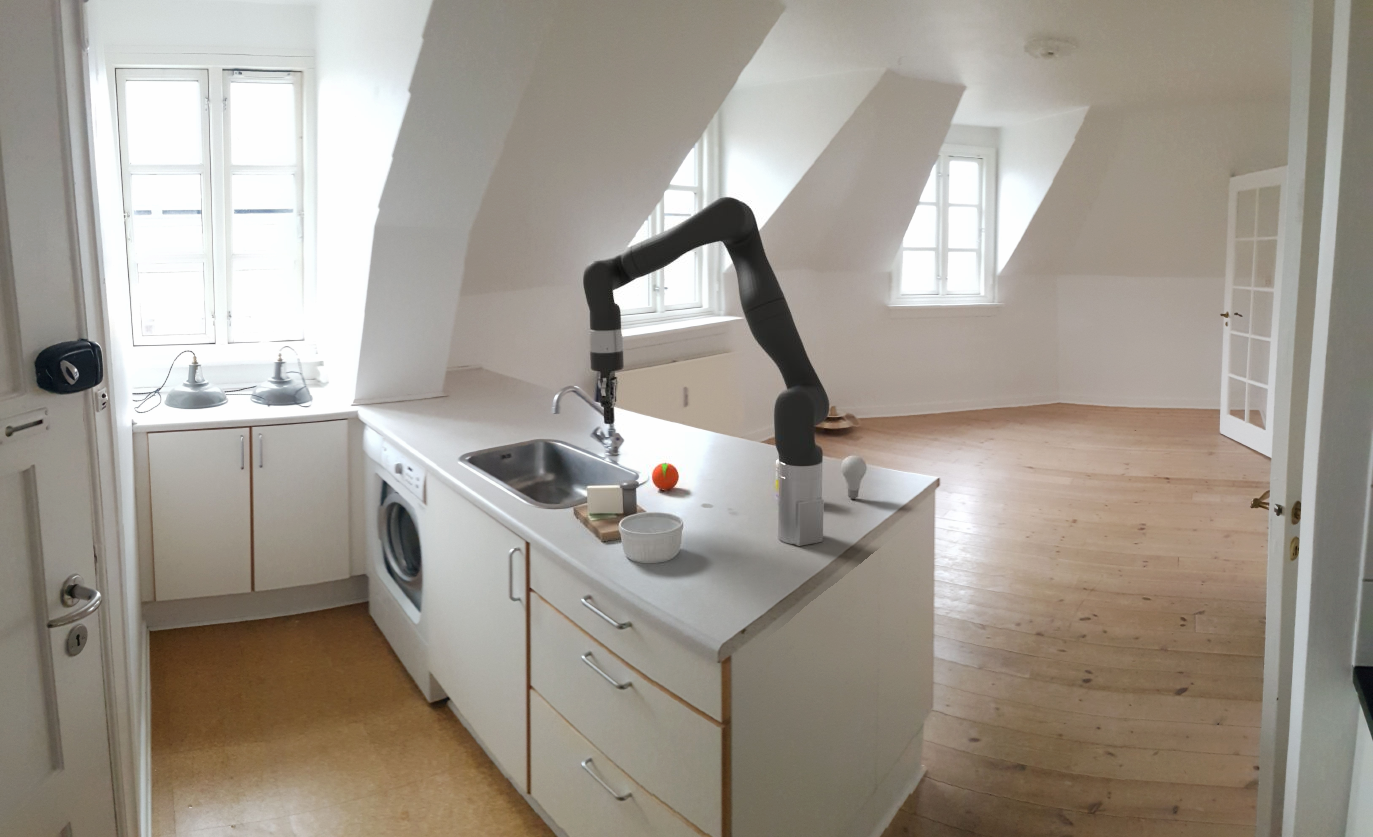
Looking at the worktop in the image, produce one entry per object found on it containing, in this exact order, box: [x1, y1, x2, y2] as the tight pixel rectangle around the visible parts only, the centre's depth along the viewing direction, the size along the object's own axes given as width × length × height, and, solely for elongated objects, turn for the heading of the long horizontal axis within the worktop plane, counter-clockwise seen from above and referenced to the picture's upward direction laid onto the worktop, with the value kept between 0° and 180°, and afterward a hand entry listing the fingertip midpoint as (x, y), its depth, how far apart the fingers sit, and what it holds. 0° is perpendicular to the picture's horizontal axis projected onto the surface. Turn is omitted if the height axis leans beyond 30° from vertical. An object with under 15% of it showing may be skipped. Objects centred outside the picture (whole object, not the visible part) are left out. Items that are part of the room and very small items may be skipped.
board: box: [573, 504, 647, 543], centre depth 197 cm, size 20×14×2 cm
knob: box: [586, 479, 640, 515], centre depth 196 cm, size 12×4×7 cm, turn 90°
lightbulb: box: [840, 455, 868, 500], centre depth 211 cm, size 6×6×11 cm
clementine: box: [651, 462, 680, 491], centre depth 221 cm, size 8×7×7 cm
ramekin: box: [619, 511, 684, 564], centre depth 178 cm, size 13×13×7 cm
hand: (609, 423), depth 200 cm, fingers closed
